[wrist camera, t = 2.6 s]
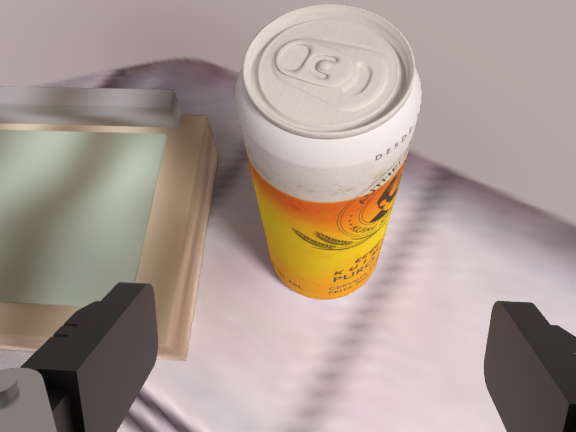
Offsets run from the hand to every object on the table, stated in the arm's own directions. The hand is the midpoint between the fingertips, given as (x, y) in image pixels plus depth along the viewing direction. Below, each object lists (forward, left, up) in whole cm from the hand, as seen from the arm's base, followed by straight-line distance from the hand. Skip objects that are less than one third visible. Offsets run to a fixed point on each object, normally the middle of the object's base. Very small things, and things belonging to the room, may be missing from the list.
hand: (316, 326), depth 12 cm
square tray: (+14, -8, -15) cm, 22 cm away
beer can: (0, -8, -15) cm, 17 cm away
